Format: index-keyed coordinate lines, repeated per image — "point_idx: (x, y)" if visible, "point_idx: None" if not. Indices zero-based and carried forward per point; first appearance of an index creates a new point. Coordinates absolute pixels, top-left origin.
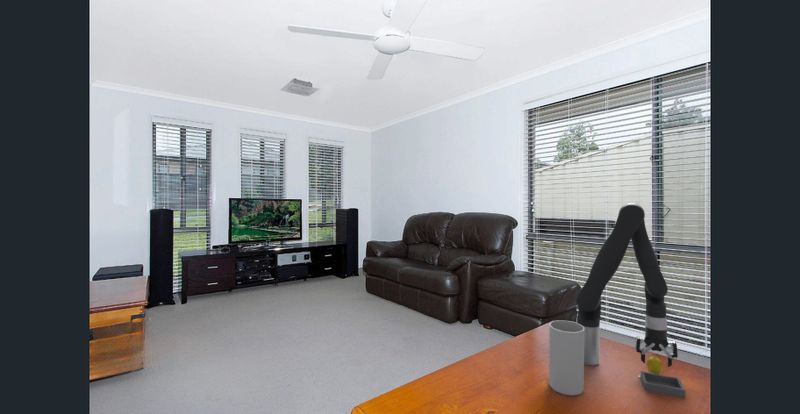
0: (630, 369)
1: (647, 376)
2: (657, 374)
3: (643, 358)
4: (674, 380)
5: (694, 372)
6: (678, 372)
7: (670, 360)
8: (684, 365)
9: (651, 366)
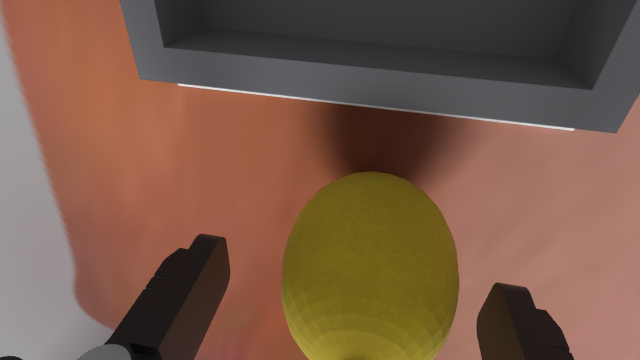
0: (571, 251)
1: (518, 69)
2: (388, 89)
3: (550, 353)
4: (203, 42)
5: (108, 276)
6: None
7: (145, 315)
8: None
9: (427, 228)
